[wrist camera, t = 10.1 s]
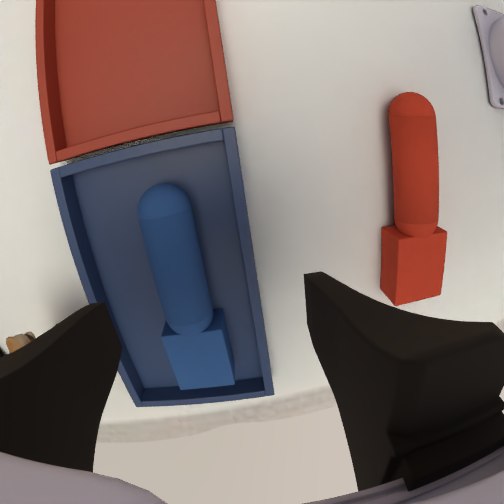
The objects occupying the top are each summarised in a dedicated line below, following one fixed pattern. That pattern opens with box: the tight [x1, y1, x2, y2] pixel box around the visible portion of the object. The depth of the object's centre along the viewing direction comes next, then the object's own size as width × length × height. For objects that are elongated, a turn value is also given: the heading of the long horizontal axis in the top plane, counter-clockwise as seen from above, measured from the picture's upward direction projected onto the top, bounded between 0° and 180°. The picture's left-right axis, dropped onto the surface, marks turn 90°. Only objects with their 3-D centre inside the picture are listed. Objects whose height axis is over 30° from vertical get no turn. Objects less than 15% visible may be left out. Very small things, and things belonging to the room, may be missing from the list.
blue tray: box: [50, 127, 274, 407], centre depth 19 cm, size 10×17×2 cm, turn 8°
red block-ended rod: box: [381, 92, 447, 306], centre depth 17 cm, size 13×4×3 cm, turn 8°
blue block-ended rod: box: [137, 183, 235, 390], centre depth 18 cm, size 13×4×3 cm, turn 8°
